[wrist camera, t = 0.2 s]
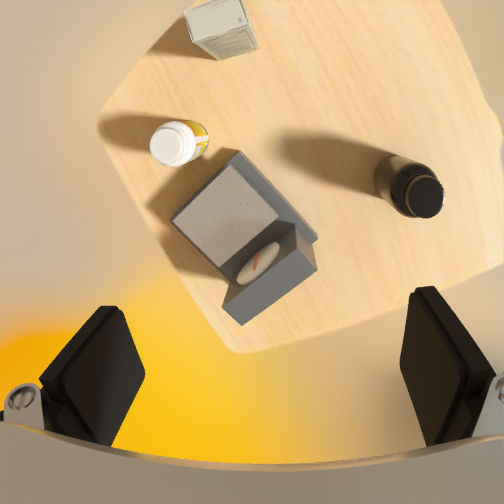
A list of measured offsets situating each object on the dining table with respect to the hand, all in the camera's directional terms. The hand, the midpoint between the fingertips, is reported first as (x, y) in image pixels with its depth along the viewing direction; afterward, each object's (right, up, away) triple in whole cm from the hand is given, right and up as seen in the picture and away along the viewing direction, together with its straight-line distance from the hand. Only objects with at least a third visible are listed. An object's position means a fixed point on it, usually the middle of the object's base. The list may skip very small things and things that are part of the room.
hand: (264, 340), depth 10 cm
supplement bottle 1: (-9, +18, +33) cm, 39 cm away
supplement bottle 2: (+20, +13, +32) cm, 40 cm away
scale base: (-2, +7, +37) cm, 38 cm away
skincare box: (-3, +31, +27) cm, 41 cm away
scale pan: (-4, +8, +34) cm, 35 cm away
